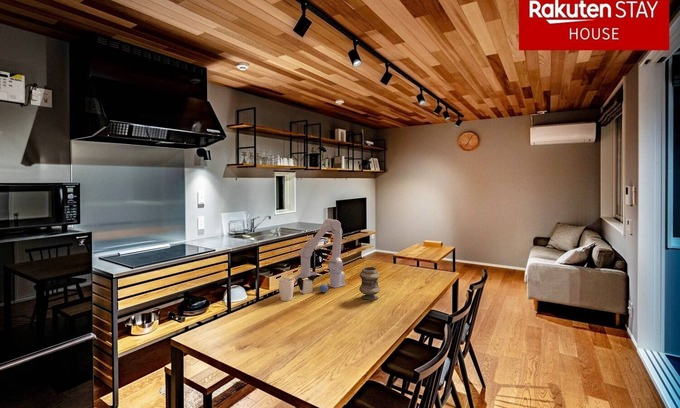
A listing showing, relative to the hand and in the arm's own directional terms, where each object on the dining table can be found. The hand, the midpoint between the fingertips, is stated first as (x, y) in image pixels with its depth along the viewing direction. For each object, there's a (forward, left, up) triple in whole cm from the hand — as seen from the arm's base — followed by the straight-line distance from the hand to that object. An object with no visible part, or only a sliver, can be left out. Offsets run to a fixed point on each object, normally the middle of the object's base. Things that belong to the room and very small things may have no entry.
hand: (305, 288), depth 216 cm
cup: (+16, +4, -2) cm, 17 cm away
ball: (-8, +8, +1) cm, 11 cm away
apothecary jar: (-23, +33, -2) cm, 40 cm away
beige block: (0, 0, -2) cm, 2 cm away
